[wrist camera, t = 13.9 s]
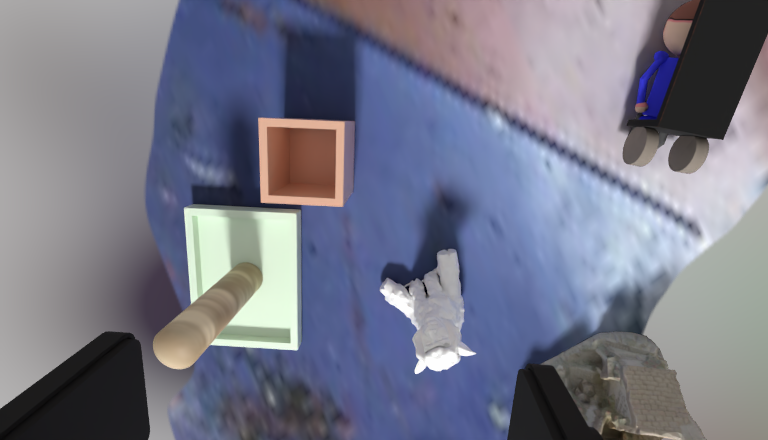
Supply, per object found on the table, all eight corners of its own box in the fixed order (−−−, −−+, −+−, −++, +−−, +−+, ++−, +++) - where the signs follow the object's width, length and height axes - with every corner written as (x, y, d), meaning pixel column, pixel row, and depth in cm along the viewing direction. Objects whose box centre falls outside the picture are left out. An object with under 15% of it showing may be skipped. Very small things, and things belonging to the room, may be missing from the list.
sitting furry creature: (451, 242, 46) (468, 284, 34) (487, 305, 48) (514, 366, 36) (377, 281, 47) (369, 334, 36) (414, 341, 49) (417, 411, 37)
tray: (193, 204, 46) (183, 207, 44) (300, 209, 46) (296, 213, 44) (202, 335, 50) (194, 343, 48) (301, 341, 50) (297, 350, 48)
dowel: (230, 261, 47) (150, 326, 32) (262, 263, 47) (196, 329, 32) (232, 291, 48) (155, 367, 33) (263, 293, 47) (199, 370, 33)
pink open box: (284, 117, 43) (258, 117, 36) (355, 120, 43) (344, 121, 35) (285, 187, 45) (260, 202, 37) (353, 191, 45) (342, 206, 37)
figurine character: (663, 164, 44) (726, 8, 39) (711, 182, 37) (795, -4, 32) (601, 153, 44) (655, -4, 39) (636, 170, 37) (709, -19, 32)
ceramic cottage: (681, 346, 48) (788, 449, 33) (618, 456, 52) (688, 589, 38) (549, 303, 48) (598, 387, 34) (497, 415, 53) (521, 531, 38)
